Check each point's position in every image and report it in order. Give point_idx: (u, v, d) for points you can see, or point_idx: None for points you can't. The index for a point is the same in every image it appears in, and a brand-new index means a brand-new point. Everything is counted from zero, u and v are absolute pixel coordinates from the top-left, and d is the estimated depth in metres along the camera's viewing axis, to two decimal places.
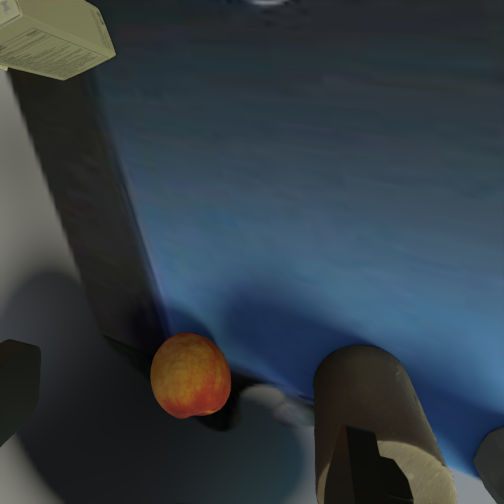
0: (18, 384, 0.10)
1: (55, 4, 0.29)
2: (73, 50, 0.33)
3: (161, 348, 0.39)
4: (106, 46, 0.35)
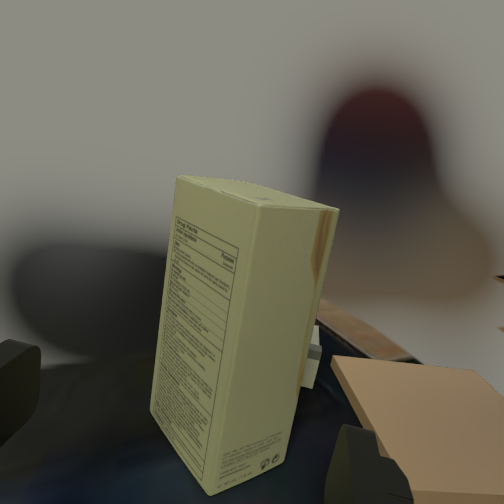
0: (18, 384, 0.10)
1: (281, 324, 0.16)
2: (206, 376, 0.16)
3: None
4: (223, 465, 0.16)
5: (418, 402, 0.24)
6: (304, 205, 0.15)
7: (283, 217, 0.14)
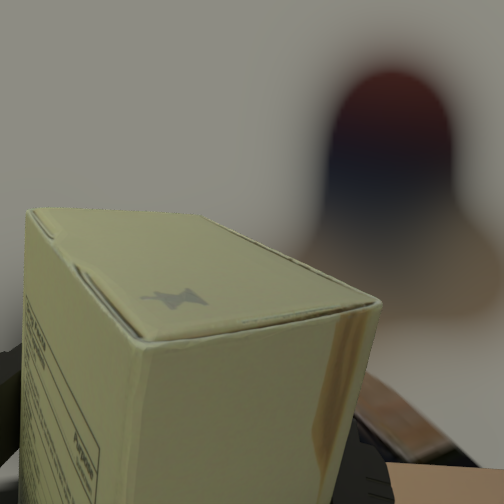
0: None
1: None
2: None
3: None
4: None
5: None
6: (295, 308, 0.05)
7: (231, 361, 0.05)
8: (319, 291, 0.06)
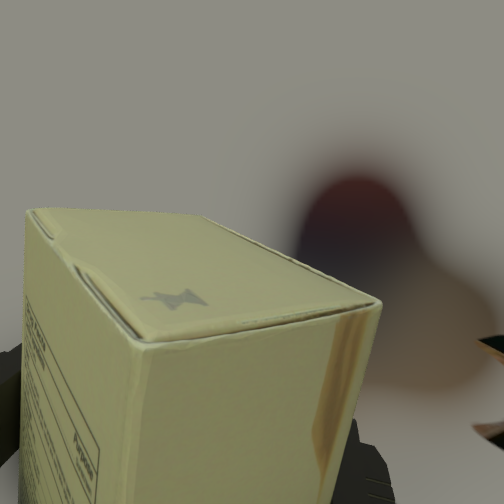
0: None
1: None
2: None
3: None
4: None
5: None
6: (295, 309, 0.05)
7: (231, 363, 0.05)
8: (319, 292, 0.06)
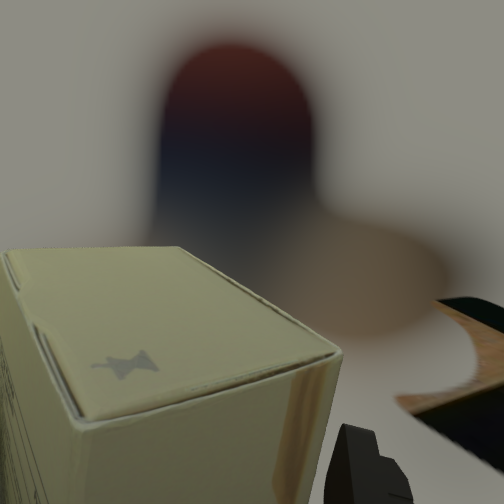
0: None
1: None
2: None
3: None
4: None
5: None
6: (249, 368, 0.06)
7: (178, 431, 0.05)
8: (279, 343, 0.06)
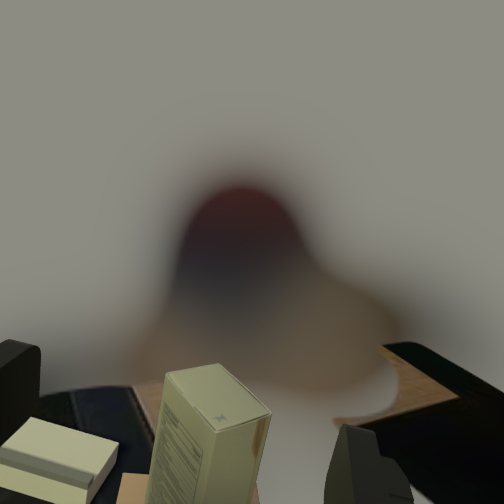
0: (18, 384, 0.10)
1: (231, 489, 0.24)
2: None
3: None
4: None
5: None
6: (247, 419, 0.23)
7: (231, 433, 0.22)
8: (254, 411, 0.24)
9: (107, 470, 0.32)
